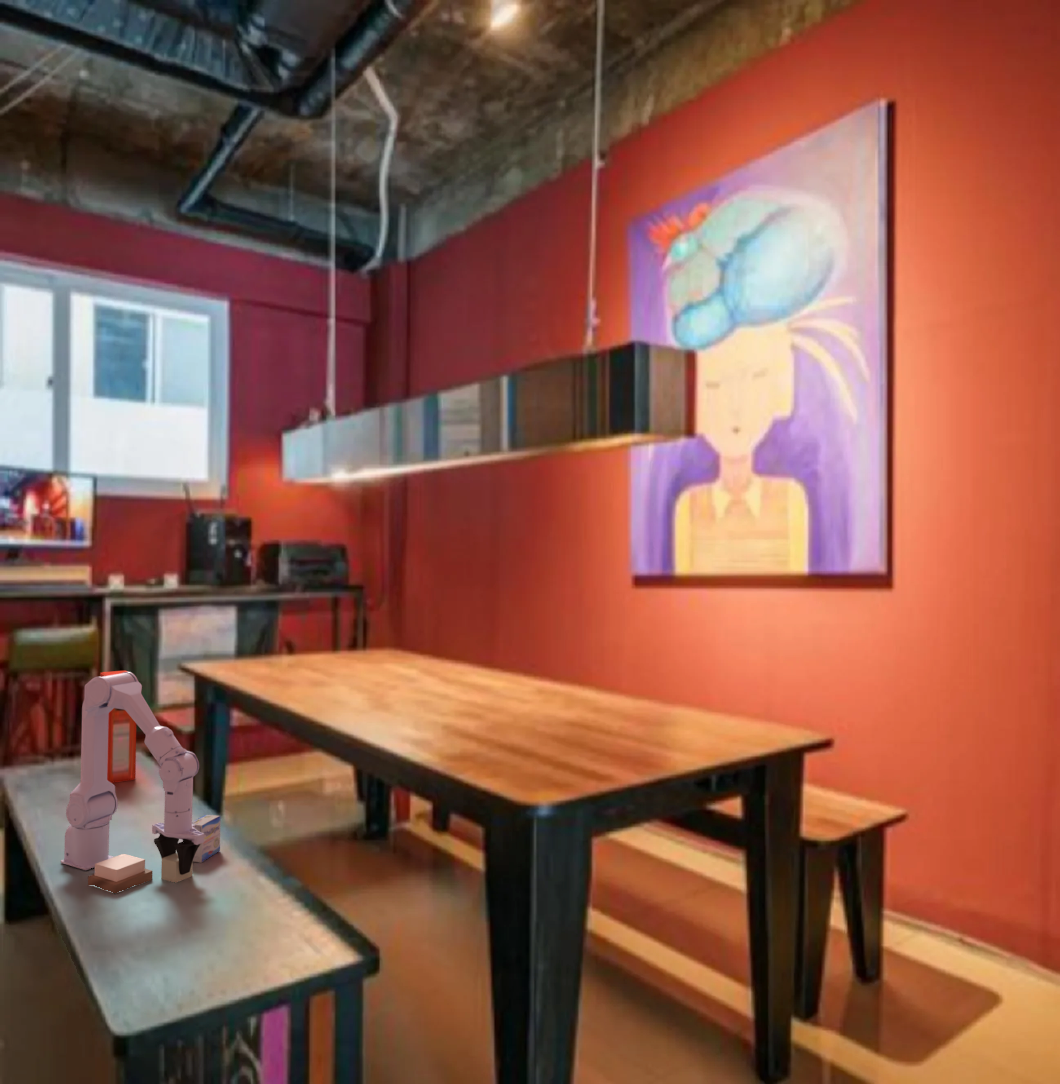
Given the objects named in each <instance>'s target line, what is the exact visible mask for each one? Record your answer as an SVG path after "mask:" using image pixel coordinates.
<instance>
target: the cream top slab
mask: <svg viewBox="0 0 1060 1084" xmlns="http://www.w3.org/2000/svg"><path fill="white" fill-rule="evenodd" d="M145 869H146V859H145V858H141V857H136V856H135V855H134V856H133V855H130V854H125V853H121V854H119V855H115V856H114V857H113V858H110V859H107V860H104V861H102V862H99V863H96V864H95V867H94V874H95V876H98V877H102V878H105V879H108V880H112V881H115V882H117V881H120V880H123V879H125V878H128V877H130V876H133V875H136V874H138V873H141V872H143V871H145Z"/></svg>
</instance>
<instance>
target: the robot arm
mask: <svg viewBox="0 0 1060 1084" xmlns="http://www.w3.org/2000/svg"><path fill="white" fill-rule="evenodd" d="M142 687H143V685H142V684H141V682H139V680H138V678H137V676H136V675H135V673H133V672H131V671H127V672H124V673H121V674H115V675H109V676H103V677H100V676H95V677H93V678H92V679H90V680H89V681H88V682H87V683H86V684H84V699H83V701H82V704H81V705H82V707H81V739H80V740H81V741H80V742H81V746H80V747H81V750H80V754H81V755H80V782H79V783H78V785H76V787H75V788H74V789H73V790H71V792H70V793H69V801H68V804H67V806H66V809H65V816H66V819H67V821H68V823H69V826H68V827H67V828H66V830H65V833H64V849H63V850H64V851H63V852H64V857H63V859H61V860H60V863H61V864H64V865H67V866H71V867H73V868H75V869H76V868H77V869H79V870H83V871H88V870H91V868H92V869H93V868H94V869H95V864H96V863H99V862H102V861H104V860H107V859H110V858H113V857H115V856H113V855H110V854H109V853H110V821H112V820H113V816H114V815H115V814H116V812H117V810H118V806H119V803H118V802H119V800H118V798H117V793H116V786H115V784H113V783H111V782H109V781H108V780H107V763H108V718H109V712H110V711H111V710H112V709H114V708H117V709H124V710H126V712H127V713H128V714H129V715H130V716H131V718H132V719H133V720H134V721H135V722H136V726H138V727H139V728H140V730H141V731H142V732H143V734H145V738H144V744H145V746H146V748H147V749H148V750H149V752H150V753H151V754H152V757H153V758H154V759H155V760H156V762H157V763H158V765H159V766H160V768H159V769H158V774H159V778H160V780H161V781H162V789H163V791H164V813H163V815H164V816H163V817H164V819H163V820H164V821H163V822H157V823H154V824H152V827H151V833H152V834H153V835H156V834H159V836H158V837H156V838H154V839H153V843H154V844H155V846H156V848H157V850H158V852H159V854H160V858H161V859H162V858H164V857H167V856H169V855H172V854H175V853H177V854H178V859H179V871H180V874H181V875H183V874H186V873H188V872H190V868H191V865H192V861H193V858H194V856H195V853H196V851H197V849H198V847H199V846H200V844H201V843H204V833H201V832H199V831H198V830H196V829H195V825H194V824H192V822H193V798H194V796H193V795H194V794H193V793H194V777H195V776H196V775H197V774H198V772H199V769H200V762H199V760H198V757H197V755H196V754H195V753H194V752H193V751H190V750H187V749H186V748H184V747H183V746H182V745H181V744H180V742H179V741H178V739H177V738H176V736H175V735H174V732H173V730H172V729H170V728H169V727H167V726H163V725H160V723H159V721H158V719H157V718H156V717H155V715H154V713H153V711H152V710H151V708H150V706H149V704H148V703H147V701H146V700H145V698H144V696H143V694H142V689H143V688H142ZM179 840H182V841H181V842H179Z"/></svg>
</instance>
